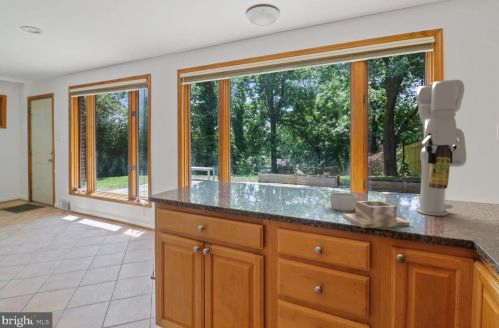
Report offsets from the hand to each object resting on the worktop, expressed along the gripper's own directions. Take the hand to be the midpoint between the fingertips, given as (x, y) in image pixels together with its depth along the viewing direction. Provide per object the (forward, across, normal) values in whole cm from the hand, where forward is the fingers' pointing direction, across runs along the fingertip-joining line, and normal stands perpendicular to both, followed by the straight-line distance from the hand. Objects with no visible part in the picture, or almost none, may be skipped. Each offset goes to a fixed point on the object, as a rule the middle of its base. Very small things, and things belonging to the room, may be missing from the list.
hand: (439, 162), depth 108 cm
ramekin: (+26, +20, -37) cm, 49 cm away
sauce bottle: (+10, 0, 0) cm, 10 cm away
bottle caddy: (+25, +18, -13) cm, 34 cm away
